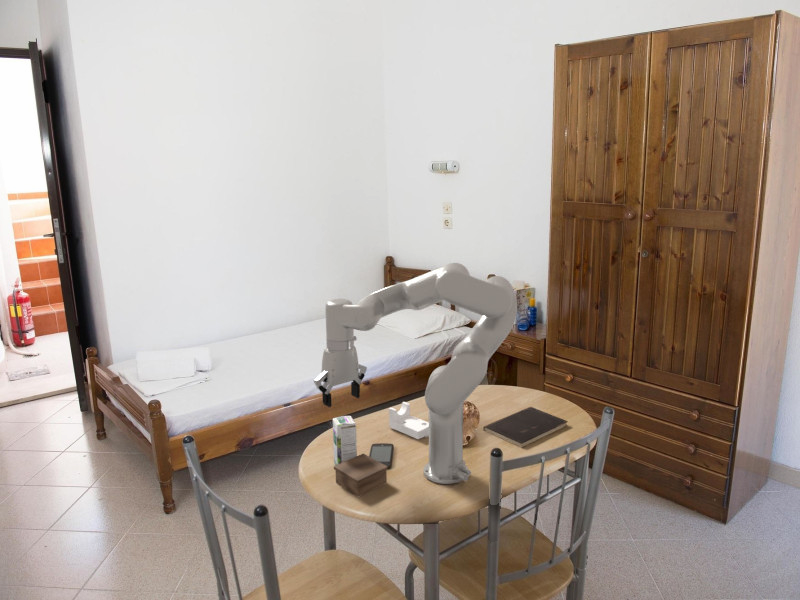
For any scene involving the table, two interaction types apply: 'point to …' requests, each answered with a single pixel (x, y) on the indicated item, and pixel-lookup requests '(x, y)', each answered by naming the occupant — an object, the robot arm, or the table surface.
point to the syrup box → (344, 439)
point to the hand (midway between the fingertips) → (341, 401)
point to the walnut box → (361, 474)
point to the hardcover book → (525, 426)
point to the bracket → (408, 422)
